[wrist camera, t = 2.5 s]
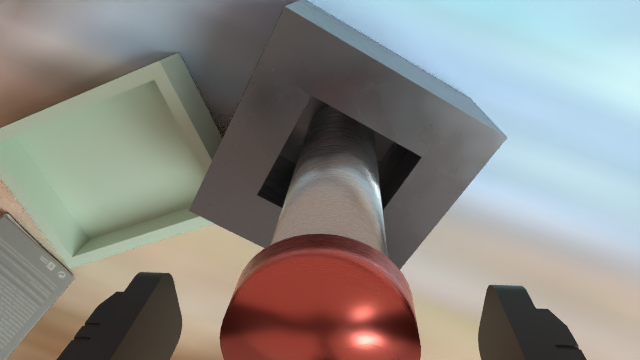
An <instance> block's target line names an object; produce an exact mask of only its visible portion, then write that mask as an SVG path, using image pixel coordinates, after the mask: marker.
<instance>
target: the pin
mask: <svg viewBox="0 0 640 360" xmlns="http://www.w3.org/2000/svg"><path fill="white" fill-rule="evenodd" d="M220 345H221V351H222V354H223V358H224V360H420V357H421V345H420V339H419V333H418V327H417V322H416V316H415V310H414V304H413V299H412V293H411V290H410V288H409V285H408V283H407V281H406V279H405V277H404V275H403V274H402V273H401V271H400V270H399V269H398V267H397V266H396V265H395V264H394V263H393V262H392V261H391V260H390V259H389V258H388V255H387V246H386V237H385V228H384V219H383V210H382V201H381V192H380V184H379V175H378V166H377V157H376V148H375V139H374V131H373V129H371V128H369V127H367V126H365V125H364V124H362V123H360V122H358V121H357V120H355V119H353V118H351V117H349V116H348V115H346V114H344V113H342V112H340V111H339V110H337V109H335V108H333V107H332V106H328V107H326V108H324V109H322V110H320V111H319V112H318V113H317V114H316V115H315V116H314V117H313V118H312V120H311V121H310V124H309V126H308V129H307V132H306V136H305V139H304V142H303V145H302V148H301V151H300V154H299V157H298V161H297V164H296V167H295V170H294V173H293V176H292V179H291V182H290V186H289V189H288V192H287V195H286V198H285V201H284V204H283V208H282V211H281V214H280V217H279V220H278V223H277V226H276V229H275V233H274V236H273V239H272V242H271V245H270V246H268V247H267V248H265V249H263V250H262V251H261V252H259V253H258V254H257V255H256V256H255V257H254V258H253V259H252V260H251V261H250V262H249V263H248V264H247V266H246V267H245V269H244V270H243V272H242V274H241V276H240V278H239V280H238V283H237V285H236V288H235V291H234V293H233V296H232V298H231V301H230V304H229V306H228V309H227V311H226V314H225V316H224V319H223V322H222V326H221V331H220Z"/></svg>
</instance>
